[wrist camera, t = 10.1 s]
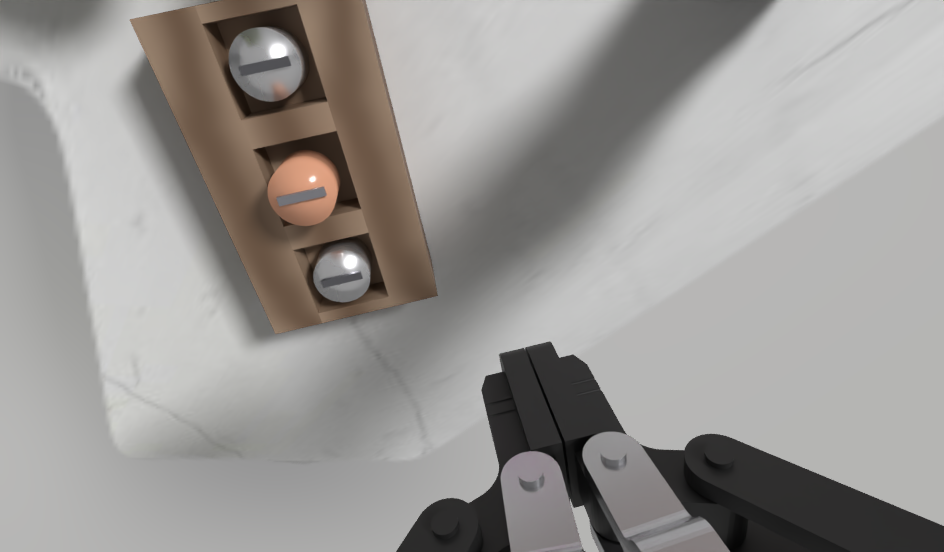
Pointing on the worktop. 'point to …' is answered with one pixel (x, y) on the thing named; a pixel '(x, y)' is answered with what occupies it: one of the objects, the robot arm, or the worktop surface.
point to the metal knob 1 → (268, 62)
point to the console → (296, 149)
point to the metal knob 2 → (343, 269)
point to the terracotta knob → (304, 188)
